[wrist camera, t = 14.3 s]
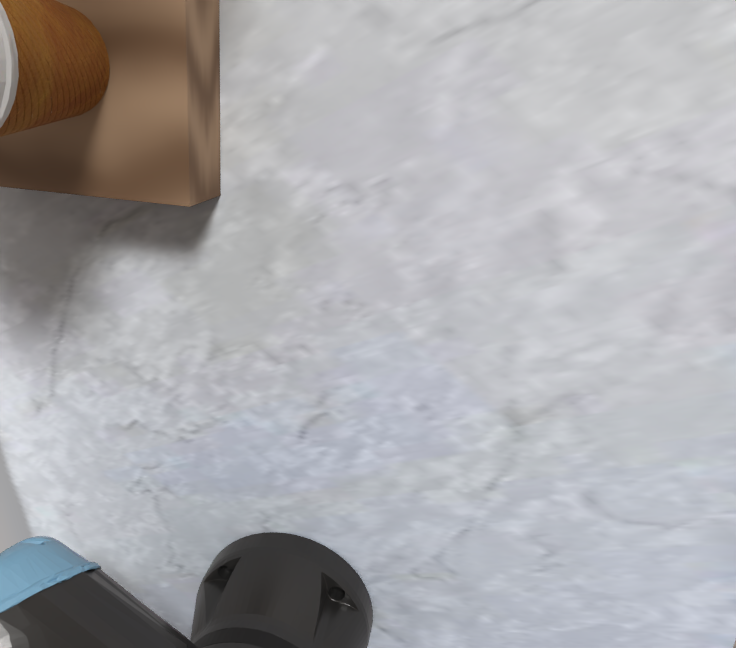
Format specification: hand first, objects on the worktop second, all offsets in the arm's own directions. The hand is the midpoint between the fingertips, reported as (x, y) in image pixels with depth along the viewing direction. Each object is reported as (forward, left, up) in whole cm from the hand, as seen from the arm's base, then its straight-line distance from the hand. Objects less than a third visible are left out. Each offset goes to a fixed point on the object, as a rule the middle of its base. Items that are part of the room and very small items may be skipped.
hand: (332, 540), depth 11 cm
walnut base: (+7, +24, -34) cm, 42 cm away
